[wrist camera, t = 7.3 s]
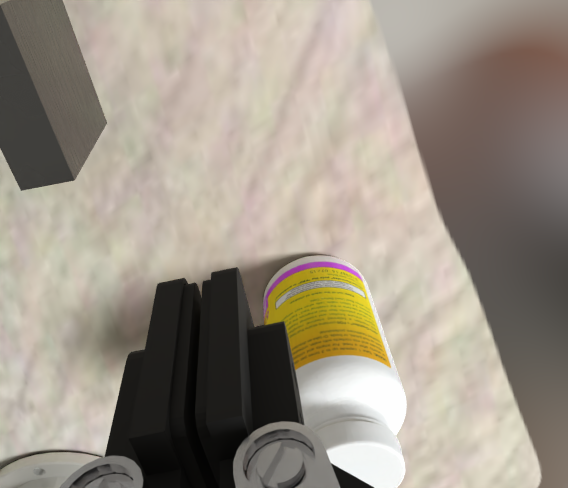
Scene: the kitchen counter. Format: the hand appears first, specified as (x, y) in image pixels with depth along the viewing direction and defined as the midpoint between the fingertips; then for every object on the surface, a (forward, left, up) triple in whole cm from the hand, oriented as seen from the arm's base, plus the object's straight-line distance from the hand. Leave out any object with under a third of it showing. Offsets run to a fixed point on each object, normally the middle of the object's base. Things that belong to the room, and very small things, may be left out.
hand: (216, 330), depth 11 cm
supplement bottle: (-14, -2, -18) cm, 23 cm away
